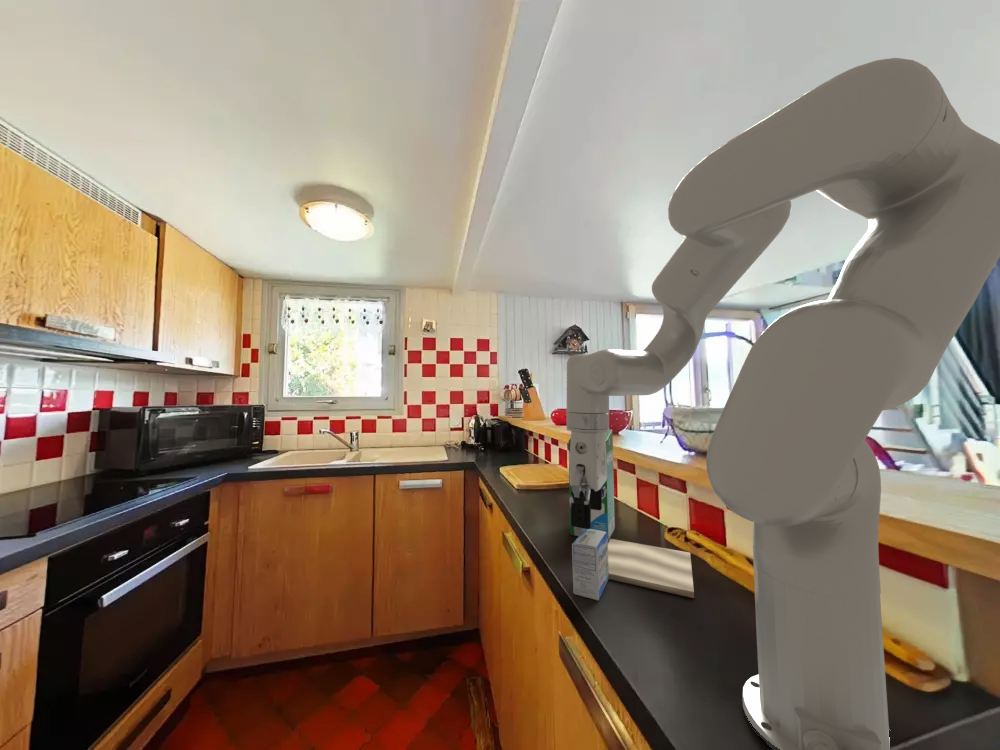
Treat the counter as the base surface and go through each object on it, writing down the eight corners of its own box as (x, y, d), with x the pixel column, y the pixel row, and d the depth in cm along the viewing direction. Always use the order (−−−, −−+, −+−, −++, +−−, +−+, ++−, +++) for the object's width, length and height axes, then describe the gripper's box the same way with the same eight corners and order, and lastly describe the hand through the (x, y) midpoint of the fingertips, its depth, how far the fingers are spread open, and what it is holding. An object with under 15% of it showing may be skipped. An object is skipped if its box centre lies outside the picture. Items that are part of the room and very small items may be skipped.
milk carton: (569, 534, 84) (568, 430, 85) (579, 522, 92) (577, 427, 93) (608, 542, 80) (605, 432, 81) (614, 528, 88) (612, 429, 89)
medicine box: (599, 602, 57) (597, 547, 57) (572, 594, 59) (571, 542, 59) (609, 579, 63) (608, 531, 64) (585, 573, 66) (584, 527, 66)
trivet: (694, 598, 58) (693, 591, 58) (596, 575, 65) (596, 570, 65) (690, 557, 72) (690, 552, 72) (610, 543, 79) (610, 538, 79)
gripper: (599, 428, 54) (599, 540, 53) (616, 419, 69) (616, 506, 68) (552, 425, 57) (552, 531, 56) (578, 417, 72) (578, 500, 72)
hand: (587, 517), depth 62 cm, fingers open, 9 cm apart
